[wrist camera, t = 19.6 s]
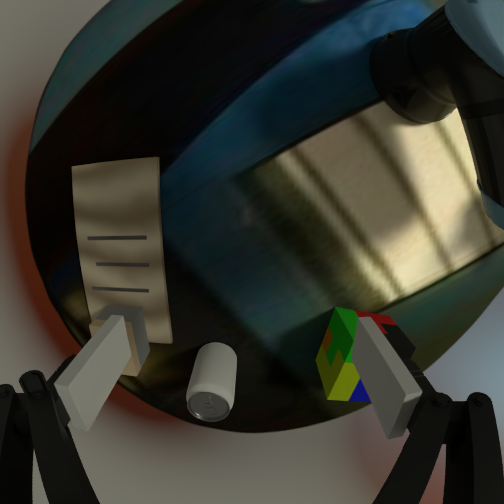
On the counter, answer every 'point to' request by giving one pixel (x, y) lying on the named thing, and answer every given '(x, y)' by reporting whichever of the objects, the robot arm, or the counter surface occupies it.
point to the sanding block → (128, 334)
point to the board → (122, 239)
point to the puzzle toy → (340, 350)
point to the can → (212, 382)
